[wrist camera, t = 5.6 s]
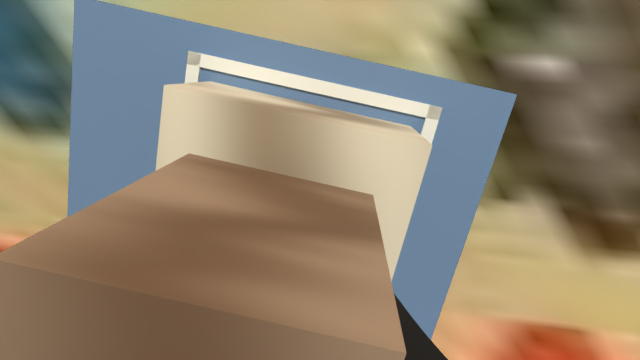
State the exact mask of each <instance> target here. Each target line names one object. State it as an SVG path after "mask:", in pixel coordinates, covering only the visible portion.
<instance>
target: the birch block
mask: <svg viewBox="0 0 640 360" xmlns="http://www.w3.org/2000/svg"><path fill="white" fill-rule="evenodd" d="M432 146H433V145H432V144H431V143H429V142H428V141H427V140H426V139H425V138H424V137H423V136H421V135H420V134H419V133H418V132H417V131H416V130H415V129H413V128H412V127H411V126H407V125H403V124H399V123H394V122H390V121H385V120H381V119H376V118H372V117H367V116H363V115H358V114H354V113H350V112H345V111H341V110H336V109H332V108H327V107H323V106H318V105H314V104H309V103H305V102H301V101H296V100H292V99H287V98H283V97H278V96H274V95H269V94H265V93H261V92H256V91H252V90H247V89H243V88H238V87H234V86H229V85H225V84H220V83H216V82H212V81H206V82H194V83H182V84H169V85H164V89H163V99H162V109H161V119H160V130H159V140H158V150H157V160H156V170H158V169H160V168H162V167H164V166H166V165H168V164H170V163H172V162H173V161H175V160H177V159H179V158H181V157H183V156H185V155H187V154H189V153H190V154H194V155H199V156H203V157H208V158H212V159H216V160H221V161H225V162H230V163H234V164H239V165H243V166H247V167H252V168H256V169H261V170H265V171H270V172H274V173H278V174H283V175H287V176H292V177H296V178H301V179H305V180H309V181H314V182H318V183H323V184H327V185H332V186H336V187H340V188H345V189H349V190H354V191H358V192H363V193H367V194H371V195H373V197H374V202H375V206H376V211H377V216H378V221H379V225H380V230H381V235H382V240H383V244H384V249H385V254H386V258H387V263H388V268H389V273H390V277H391V282H392V278H393V275H394V272H395V268H396V265H397V262H398V258H399V255H400V252H401V248H402V245H403V242H404V239H405V235H406V232H407V229H408V225H409V222H410V219H411V215H412V212H413V209H414V205H415V202H416V199H417V196H418V192H419V189H420V186H421V182H422V179H423V176H424V172H425V169H426V166H427V162H428V159H429V156H430V153H431V149H432Z"/></svg>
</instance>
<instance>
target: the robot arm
mask: <svg viewBox="0 0 640 360" xmlns="http://www.w3.org/2000/svg"><path fill="white" fill-rule="evenodd" d="M394 296H395V301H396V306H397V310H398V315H399V320H400V325H401V329H402V334H403V339H404V344H405V348H406V356H405V359H404V360H448V359H447V358H446V357H445V356H444V355H443V354H442V353H441V351H440V350H439V349H438V348H437V347H436V346H435V345H434V344H433V342H432V341H431V340H430V339H429V338H428V336H427V335H426V334H425V333H424V332H423V330H422V329H421V328H420V327H419V325H418V324H417V323H416V322H415V320H414V319H413V318H412V316H411V315H410V314H409V312H408V311H407V310H406V309H405V307H404V306H403V304H402V303H401V302H400V300H399V299H398V298H397V296H396V295H395V294H394Z"/></svg>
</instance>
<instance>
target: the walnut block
mask: <svg viewBox="0 0 640 360" xmlns="http://www.w3.org/2000/svg"><path fill="white" fill-rule="evenodd" d="M405 356H406V348H405V344H404V339H403V334H402V329H401V325H400V320H399V315H398V310H397V306H396V301H395V296H394V292H393V287H392V282H391V277H390V273H389V268H388V263H387V258H386V254H385V249H384V244H383V240H382V235H381V230H380V225H379V221H378V216H377V211H376V206H375V202H374V197H373V195H371V194H367V193H363V192H358V191H354V190H349V189H345V188H340V187H336V186H332V185H327V184H323V183H318V182H314V181H309V180H305V179H301V178H296V177H292V176H287V175H283V174H278V173H274V172H270V171H265V170H261V169H256V168H252V167H247V166H243V165H239V164H234V163H230V162H225V161H221V160H216V159H212V158H208V157H203V156H199V155H194V154H190V153H189V154H187V155H185V156H183V157H181V158H179V159H177V160H175V161H173V162H172V163H170V164H168V165H166V166H164V167H162V168H160V169H158V170H156V171H154V172H153V173H151V174H149V175H147V176H145V177H143V178H141V179H139V180H137V181H135V182H133V183H132V184H130V185H128V186H126V187H124V188H122V189H120V190H118V191H116V192H114V193H113V194H111V195H109V196H107V197H105V198H103V199H101V200H99V201H97V202H95V203H94V204H92V205H90V206H88V207H86V208H84V209H82V210H80V211H78V212H76V213H75V214H73V215H71V216H69V217H67V218H65V219H63V220H61V221H59V222H57V223H56V224H54V225H52V226H50V227H48V228H46V229H44V230H42V231H40V232H38V233H36V234H35V235H33V236H31V237H29V238H27V239H25V240H23V241H21V242H19V243H17V244H16V245H14V246H12V247H10V248H8V249H6V250H4V251H2V252H0V360H404V359H405Z"/></svg>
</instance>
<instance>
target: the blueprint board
mask: <svg viewBox="0 0 640 360" xmlns="http://www.w3.org/2000/svg"><path fill="white" fill-rule="evenodd" d="M206 81H212V82H216V83H220V84H225V85H229V86H234V87H238V88H243V89H247V90H252V91H256V92H261V93H265V94H269V95H274V96H278V97H283V98H287V99H292V100H296V101H301V102H305V103H309V104H314V105H318V106H323V107H327V108H332V109H336V110H341V111H345V112H350V113H354V114H358V115H363V116H367V117H372V118H376V119H381V120H385V121H390V122H394V123H399V124H403V125H407V126H411V127H412V128H413V129H415V130H416V131H417V132H418V133H419V134H420V135H421V136H423V137H424V138H425V139H426V140H427V141H428V142H429V143H431V144H432V145H433V146H432V149H431V153H430V156H429V159H428V162H427V166H426V169H425V172H424V176H423V179H422V182H421V186H420V189H419V192H418V196H417V199H416V202H415V205H414V209H413V212H412V215H411V219H410V222H409V225H408V229H407V232H406V235H405V239H404V242H403V245H402V248H401V252H400V255H399V258H398V262H397V265H396V268H395V272H394V275H393V278H392V287H393V292H394V294H395V295H396V296H397V298H398V299H399V300H400V302H401V303H402V304H403V306H404V307H405V309H406V310H407V311H408V312H409V314H410V315H411V316H412V318H413V319H414V320H415V322H416V323H417V324H418V325H419V327H420V328H421V329H422V330H423V332H424V333H425V334H426V335H427V336H428V338H429V339H430V340H431V338H432V335H433V332H434V329H435V326H436V323H437V321H438V318H439V315H440V312H441V309H442V306H443V304H444V301H445V298H446V295H447V292H448V289H449V287H450V284H451V281H452V278H453V275H454V272H455V269H456V267H457V264H458V261H459V258H460V255H461V252H462V250H463V247H464V244H465V241H466V238H467V235H468V232H469V230H470V227H471V224H472V221H473V218H474V215H475V213H476V210H477V207H478V204H479V201H480V198H481V196H482V193H483V190H484V187H485V184H486V181H487V178H488V176H489V173H490V170H491V167H492V164H493V161H494V159H495V156H496V153H497V150H498V147H499V144H500V142H501V139H502V136H503V133H504V130H505V127H506V124H507V122H508V119H509V116H510V113H511V110H512V107H513V105H514V102H515V99H516V96H517V94H512V93H508V92H503V91H499V90H494V89H490V88H485V87H481V86H476V85H472V84H467V83H463V82H459V81H454V80H450V79H445V78H441V77H436V76H432V75H427V74H423V73H418V72H414V71H409V70H405V69H400V68H396V67H392V66H387V65H383V64H378V63H374V62H369V61H365V60H360V59H356V58H351V57H347V56H342V55H338V54H333V53H329V52H325V51H320V50H316V49H311V48H307V47H302V46H298V45H293V44H289V43H284V42H280V41H275V40H271V39H266V38H262V37H258V36H253V35H249V34H244V33H240V32H235V31H231V30H226V29H222V28H217V27H213V26H208V25H204V24H200V23H195V22H191V21H186V20H182V19H177V18H173V17H168V16H164V15H159V14H155V13H150V12H146V11H141V10H137V9H133V8H128V7H124V6H119V5H115V4H110V3H106V2H101V1H97V0H74V31H73V63H72V94H71V125H70V157H69V188H68V217H69V216H71V215H73V214H75V213H76V212H78V211H80V210H82V209H84V208H86V207H88V206H90V205H92V204H94V203H95V202H97V201H99V200H101V199H103V198H105V197H107V196H109V195H111V194H113V193H114V192H116V191H118V190H120V189H122V188H124V187H126V186H128V185H130V184H132V183H133V182H135V181H137V180H139V179H141V178H143V177H145V176H147V175H149V174H151V173H153V172H154V171H156V160H157V150H158V140H159V130H160V119H161V109H162V99H163V89H164V85H169V84H182V83H194V82H206Z"/></svg>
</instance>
